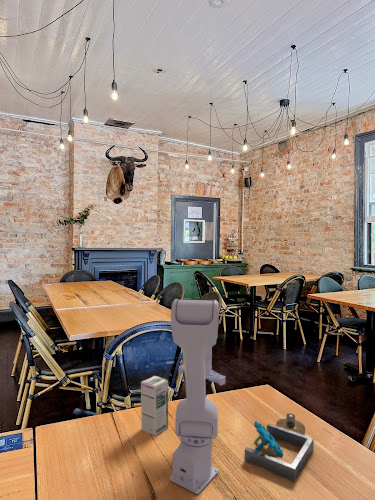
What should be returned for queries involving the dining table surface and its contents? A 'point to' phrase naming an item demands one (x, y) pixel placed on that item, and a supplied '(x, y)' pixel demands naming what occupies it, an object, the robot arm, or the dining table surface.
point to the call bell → (291, 424)
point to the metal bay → (277, 465)
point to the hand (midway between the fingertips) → (201, 403)
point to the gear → (266, 439)
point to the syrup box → (154, 405)
